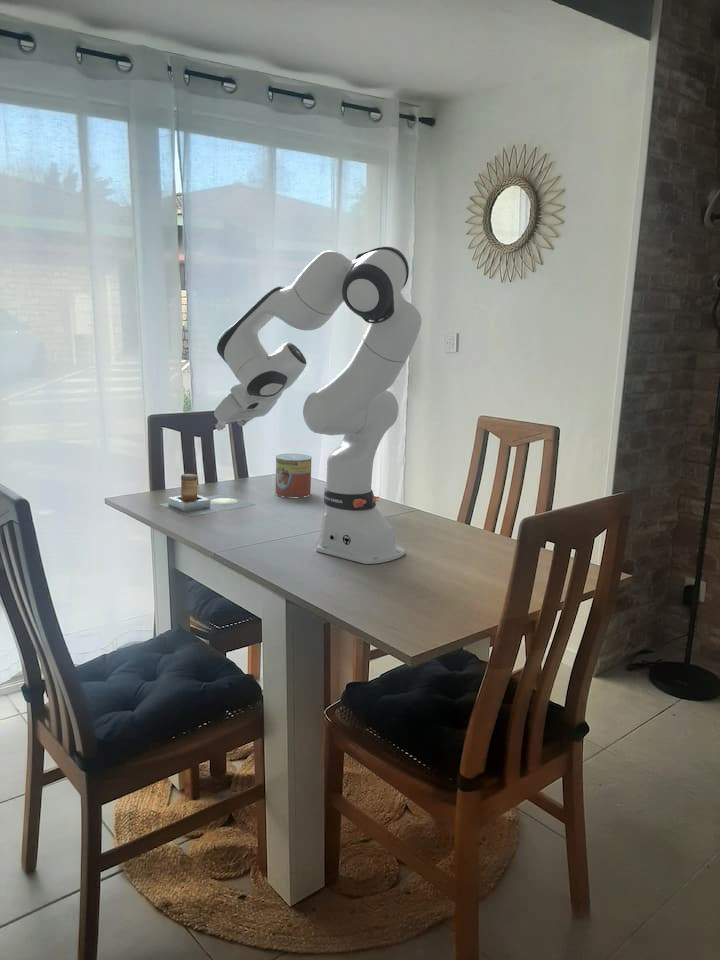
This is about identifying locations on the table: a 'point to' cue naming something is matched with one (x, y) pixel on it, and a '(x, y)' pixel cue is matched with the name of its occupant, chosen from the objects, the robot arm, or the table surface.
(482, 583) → the table surface
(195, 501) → the collar
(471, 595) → the table surface
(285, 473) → the canned food
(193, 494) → the plug
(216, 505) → the base plate
